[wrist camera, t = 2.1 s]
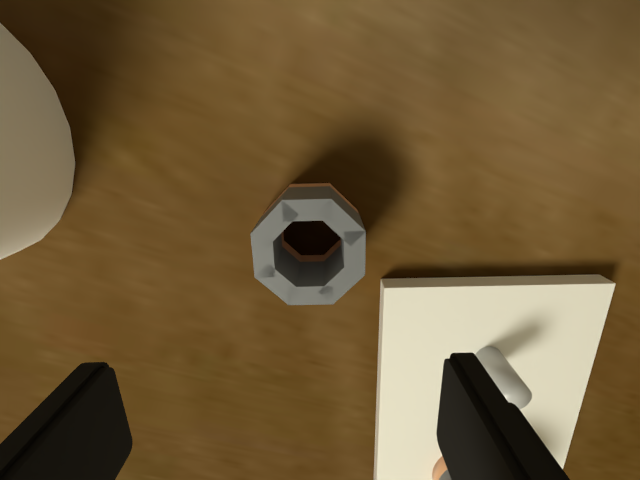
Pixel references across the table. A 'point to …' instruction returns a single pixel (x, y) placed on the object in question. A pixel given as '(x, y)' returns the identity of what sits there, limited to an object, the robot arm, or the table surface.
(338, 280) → the sleeve
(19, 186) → the cylinder
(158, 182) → the table surface
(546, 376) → the pin board
